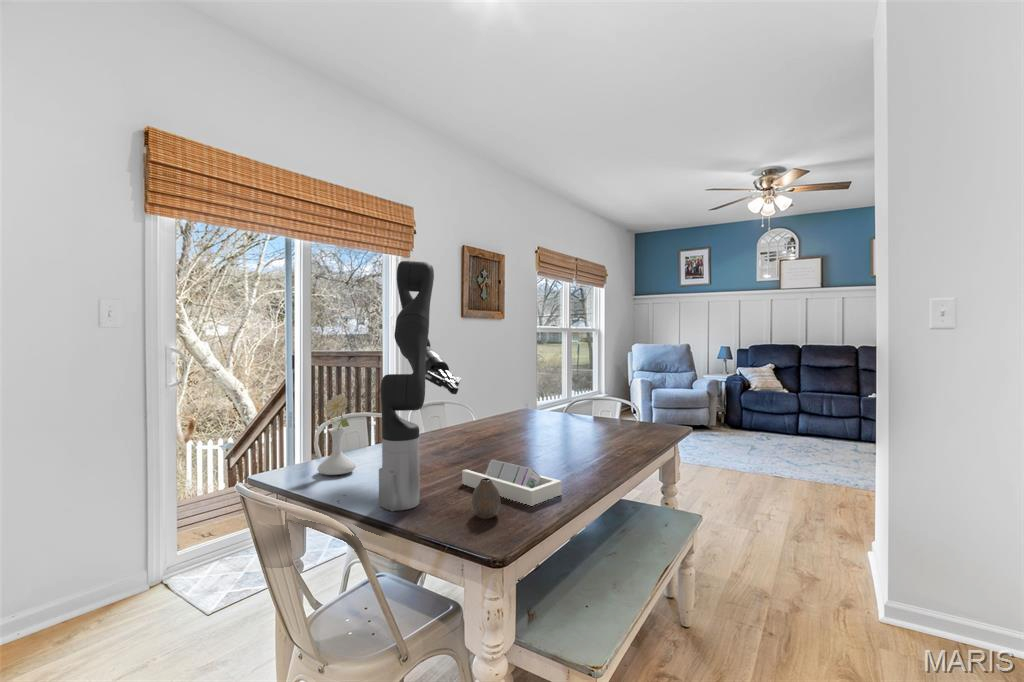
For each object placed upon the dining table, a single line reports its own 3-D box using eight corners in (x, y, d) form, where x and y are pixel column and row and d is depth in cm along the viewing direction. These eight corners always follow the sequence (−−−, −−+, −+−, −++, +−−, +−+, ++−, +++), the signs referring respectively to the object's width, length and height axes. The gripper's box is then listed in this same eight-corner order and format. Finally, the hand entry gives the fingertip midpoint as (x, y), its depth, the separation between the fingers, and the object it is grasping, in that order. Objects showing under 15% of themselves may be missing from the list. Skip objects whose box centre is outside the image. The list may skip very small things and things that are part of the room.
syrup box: (483, 477, 138) (523, 489, 129) (491, 458, 141) (531, 468, 131) (494, 485, 142) (534, 496, 133) (502, 465, 144) (541, 475, 135)
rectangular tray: (531, 507, 124) (531, 491, 124) (462, 484, 143) (462, 470, 143) (561, 495, 132) (561, 480, 132) (492, 475, 151) (492, 462, 151)
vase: (500, 510, 122) (500, 475, 121) (500, 521, 115) (500, 483, 115) (472, 510, 121) (472, 475, 121) (470, 521, 114) (470, 483, 114)
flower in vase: (311, 472, 154) (311, 393, 154) (347, 466, 162) (346, 390, 162) (327, 482, 145) (327, 397, 144) (364, 474, 152) (364, 393, 152)
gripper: (419, 352, 156) (440, 377, 143) (454, 359, 164) (477, 383, 151) (411, 373, 158) (431, 399, 145) (446, 379, 166) (468, 404, 153)
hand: (455, 391), depth 148 cm, fingers closed
